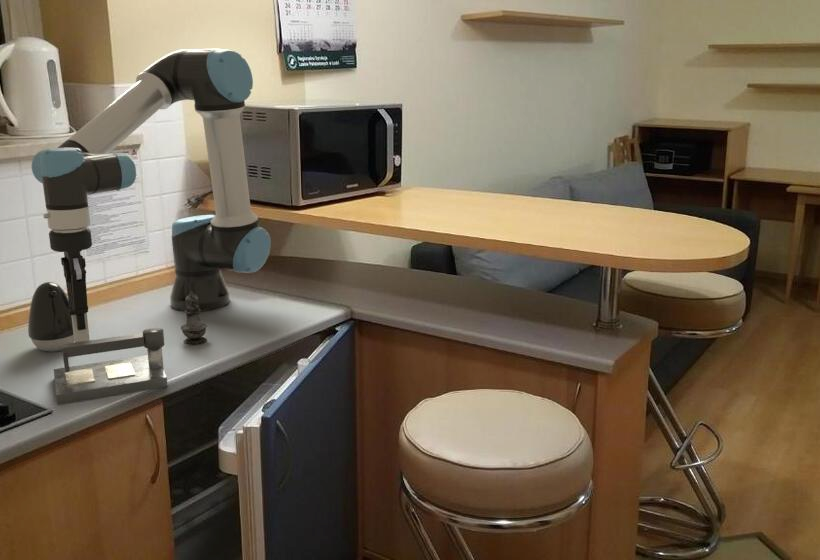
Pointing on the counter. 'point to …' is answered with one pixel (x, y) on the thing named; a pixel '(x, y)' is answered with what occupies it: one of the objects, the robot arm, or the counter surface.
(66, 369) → the lever
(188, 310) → the grey chess piece
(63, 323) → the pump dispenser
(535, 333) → the counter surface
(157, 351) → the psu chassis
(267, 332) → the counter surface
